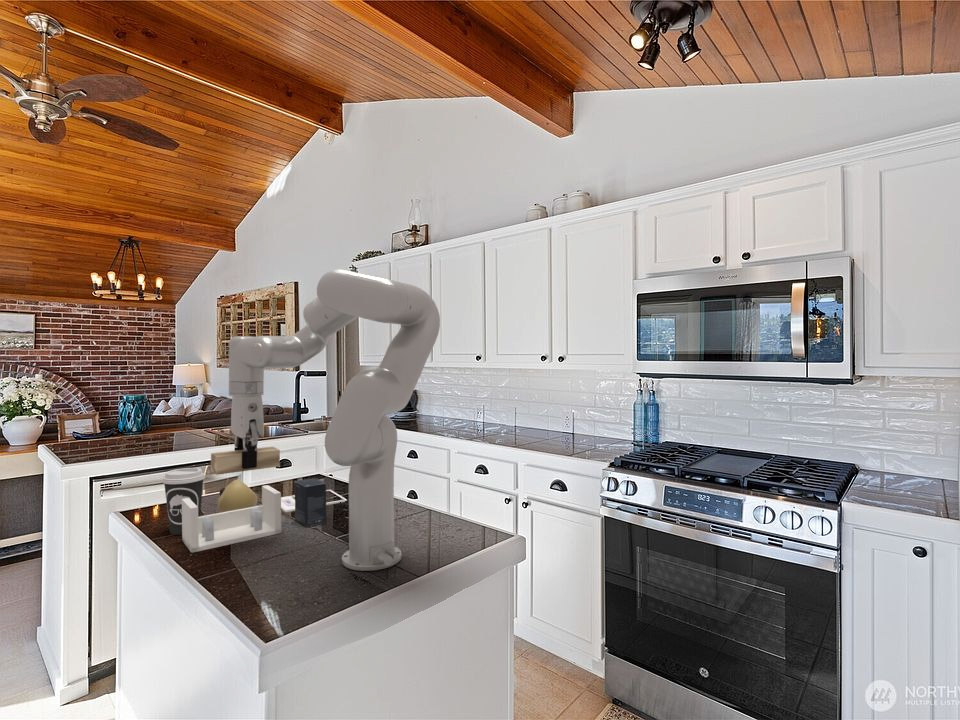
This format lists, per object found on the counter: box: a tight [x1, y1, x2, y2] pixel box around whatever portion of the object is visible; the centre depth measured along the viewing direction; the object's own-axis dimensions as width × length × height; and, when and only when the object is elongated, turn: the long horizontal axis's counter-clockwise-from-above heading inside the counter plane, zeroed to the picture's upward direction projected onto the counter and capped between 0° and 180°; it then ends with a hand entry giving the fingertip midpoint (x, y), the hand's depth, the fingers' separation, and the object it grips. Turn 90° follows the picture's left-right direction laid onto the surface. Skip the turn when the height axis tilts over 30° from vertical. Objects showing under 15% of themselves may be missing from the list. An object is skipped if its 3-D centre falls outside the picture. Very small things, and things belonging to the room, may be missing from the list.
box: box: [294, 478, 327, 528], centre depth 140 cm, size 8×6×11 cm
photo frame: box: [281, 489, 348, 513], centre depth 160 cm, size 15×1×18 cm
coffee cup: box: [161, 467, 206, 536], centre depth 134 cm, size 10×10×15 cm
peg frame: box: [181, 484, 282, 554], centre depth 129 cm, size 10×20×10 cm, turn 130°
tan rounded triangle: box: [217, 479, 259, 513], centre depth 144 cm, size 10×12×11 cm
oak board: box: [210, 446, 281, 476], centre depth 125 cm, size 5×14×4 cm, turn 130°
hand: (245, 464), depth 125 cm, fingers closed on oak board, 5 cm apart
